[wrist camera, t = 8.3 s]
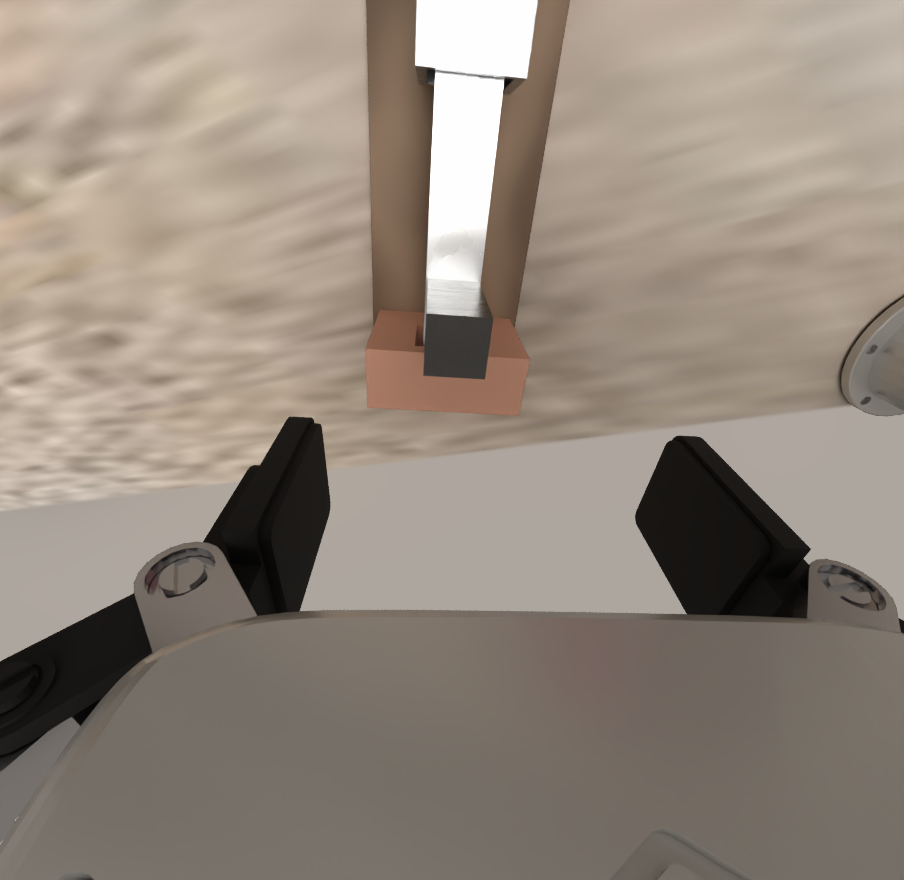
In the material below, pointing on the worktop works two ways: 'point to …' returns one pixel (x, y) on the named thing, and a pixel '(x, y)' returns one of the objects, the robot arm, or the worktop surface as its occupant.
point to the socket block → (404, 386)
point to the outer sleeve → (475, 39)
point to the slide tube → (460, 224)
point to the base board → (410, 152)
